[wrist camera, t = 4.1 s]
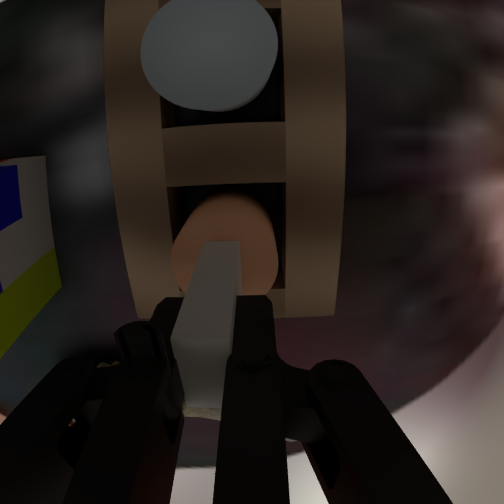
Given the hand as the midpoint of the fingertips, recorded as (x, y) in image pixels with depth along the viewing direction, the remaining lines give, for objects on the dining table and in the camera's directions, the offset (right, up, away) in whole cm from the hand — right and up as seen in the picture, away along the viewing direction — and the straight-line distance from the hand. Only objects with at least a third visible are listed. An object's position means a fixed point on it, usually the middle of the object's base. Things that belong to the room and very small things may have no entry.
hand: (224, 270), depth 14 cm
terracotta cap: (0, +2, +5) cm, 5 cm away
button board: (0, +11, +2) cm, 11 cm away
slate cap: (0, +10, 0) cm, 10 cm away
